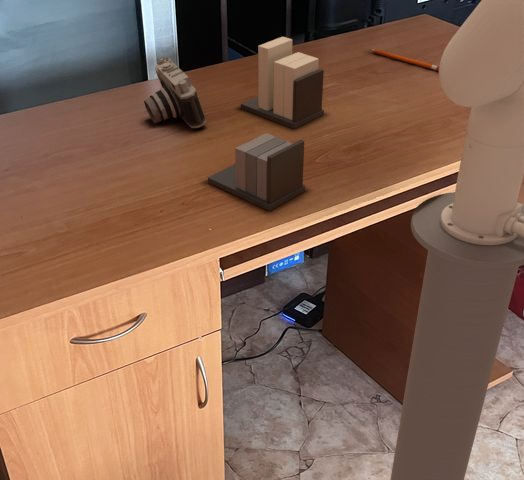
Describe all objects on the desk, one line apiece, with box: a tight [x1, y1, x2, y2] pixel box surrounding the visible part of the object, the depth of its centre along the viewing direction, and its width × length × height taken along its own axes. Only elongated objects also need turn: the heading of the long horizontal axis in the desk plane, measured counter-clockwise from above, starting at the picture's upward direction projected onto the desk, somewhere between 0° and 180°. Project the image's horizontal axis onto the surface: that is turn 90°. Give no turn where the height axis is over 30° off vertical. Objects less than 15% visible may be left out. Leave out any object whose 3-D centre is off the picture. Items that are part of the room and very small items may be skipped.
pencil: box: [368, 48, 440, 72], centre depth 176 cm, size 1×19×1 cm, turn 50°
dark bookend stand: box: [240, 51, 325, 130], centre depth 152 cm, size 14×9×11 cm, turn 48°
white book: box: [257, 36, 293, 111], centre depth 152 cm, size 2×7×12 cm, turn 138°
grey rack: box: [207, 132, 306, 212], centre depth 129 cm, size 14×9×9 cm, turn 48°
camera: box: [143, 56, 207, 129], centre depth 150 cm, size 16×9×10 cm, turn 25°
